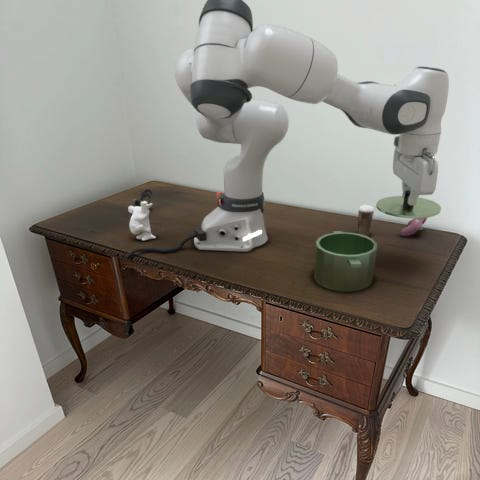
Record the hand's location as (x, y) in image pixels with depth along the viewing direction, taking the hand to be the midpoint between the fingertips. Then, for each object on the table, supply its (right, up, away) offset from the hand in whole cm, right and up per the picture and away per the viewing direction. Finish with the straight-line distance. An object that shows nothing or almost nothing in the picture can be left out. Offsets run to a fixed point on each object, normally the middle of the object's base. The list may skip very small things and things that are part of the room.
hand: (408, 201), depth 117 cm
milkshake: (-4, -4, +26) cm, 27 cm away
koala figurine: (-72, -4, +28) cm, 78 cm away
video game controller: (+11, -3, +26) cm, 29 cm away
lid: (0, -1, +1) cm, 2 cm away
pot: (-16, -19, +2) cm, 25 cm away
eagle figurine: (-77, +10, +52) cm, 94 cm away
